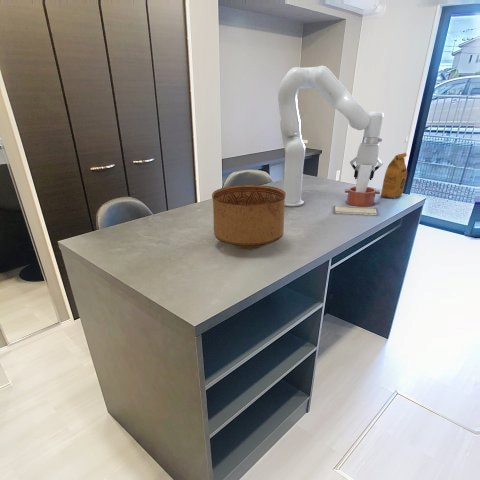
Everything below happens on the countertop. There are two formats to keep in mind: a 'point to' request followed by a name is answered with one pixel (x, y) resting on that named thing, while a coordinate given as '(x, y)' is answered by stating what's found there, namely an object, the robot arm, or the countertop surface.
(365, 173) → the drinking glass
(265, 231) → the pot
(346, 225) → the countertop surface
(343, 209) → the tea towel
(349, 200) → the cooking pot
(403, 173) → the coffee package
